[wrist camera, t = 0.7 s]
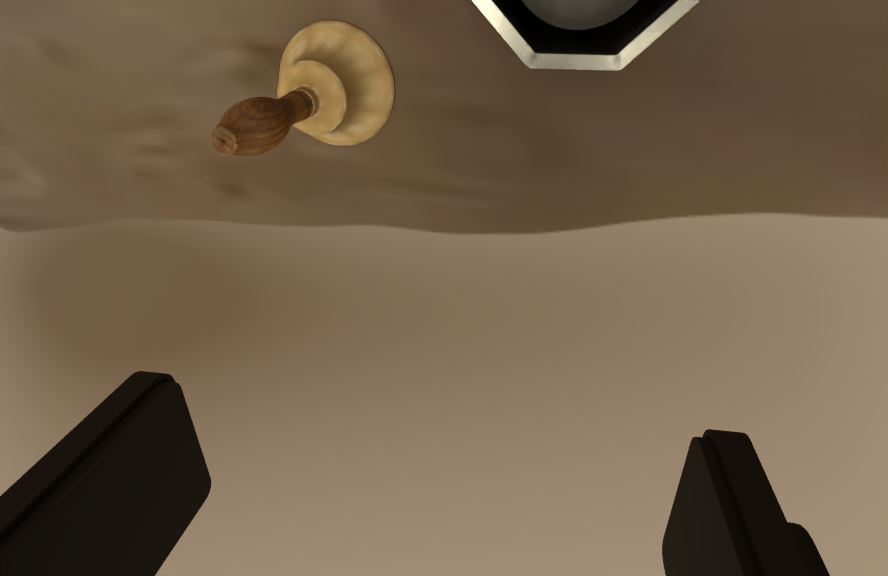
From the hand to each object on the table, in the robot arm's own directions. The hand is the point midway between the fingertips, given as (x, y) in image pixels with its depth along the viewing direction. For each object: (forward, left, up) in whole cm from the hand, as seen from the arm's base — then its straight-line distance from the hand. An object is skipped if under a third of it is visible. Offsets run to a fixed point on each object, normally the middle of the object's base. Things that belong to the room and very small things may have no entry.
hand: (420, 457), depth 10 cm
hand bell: (+12, -2, -32) cm, 34 cm away
